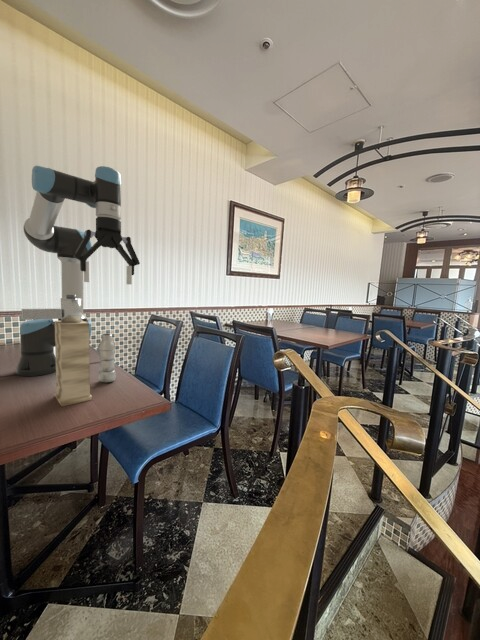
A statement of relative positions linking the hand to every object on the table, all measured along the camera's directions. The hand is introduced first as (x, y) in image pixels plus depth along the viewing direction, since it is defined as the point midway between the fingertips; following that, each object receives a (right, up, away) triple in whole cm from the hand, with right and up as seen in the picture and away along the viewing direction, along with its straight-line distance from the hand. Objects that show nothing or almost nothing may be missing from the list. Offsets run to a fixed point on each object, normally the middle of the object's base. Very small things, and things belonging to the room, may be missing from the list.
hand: (108, 283), depth 89 cm
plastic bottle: (-11, -38, +21) cm, 45 cm away
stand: (-14, -40, +3) cm, 43 cm away
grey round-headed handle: (-16, -13, -3) cm, 21 cm away
